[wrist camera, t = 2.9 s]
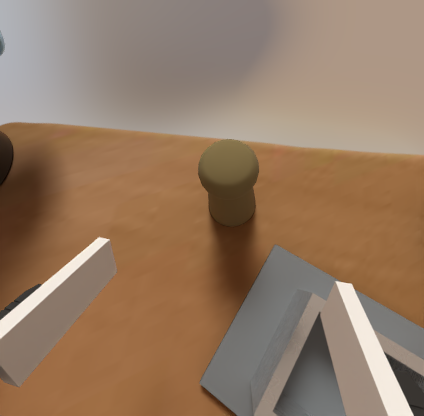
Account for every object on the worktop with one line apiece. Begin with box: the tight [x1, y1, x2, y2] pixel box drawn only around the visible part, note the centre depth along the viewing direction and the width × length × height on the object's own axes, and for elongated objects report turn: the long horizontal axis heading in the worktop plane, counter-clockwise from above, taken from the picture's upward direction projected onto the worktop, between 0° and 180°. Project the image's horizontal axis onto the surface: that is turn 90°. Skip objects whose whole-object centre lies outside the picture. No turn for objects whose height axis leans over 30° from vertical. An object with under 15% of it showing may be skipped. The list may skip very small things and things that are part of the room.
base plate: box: [200, 245, 424, 416], centre depth 20 cm, size 18×16×1 cm
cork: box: [198, 139, 259, 226], centre depth 21 cm, size 6×6×11 cm
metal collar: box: [250, 289, 424, 416], centre depth 17 cm, size 10×10×5 cm
